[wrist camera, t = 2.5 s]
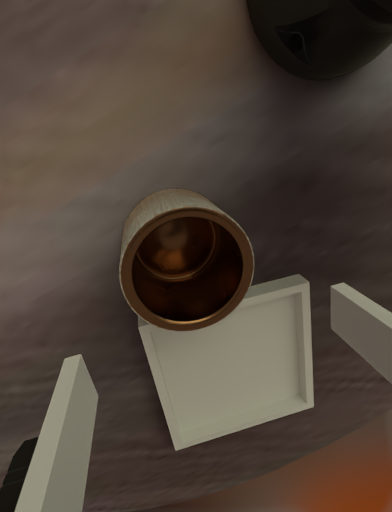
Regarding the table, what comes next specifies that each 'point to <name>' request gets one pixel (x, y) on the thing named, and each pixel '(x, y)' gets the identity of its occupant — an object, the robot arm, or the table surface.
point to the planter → (183, 261)
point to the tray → (236, 364)
